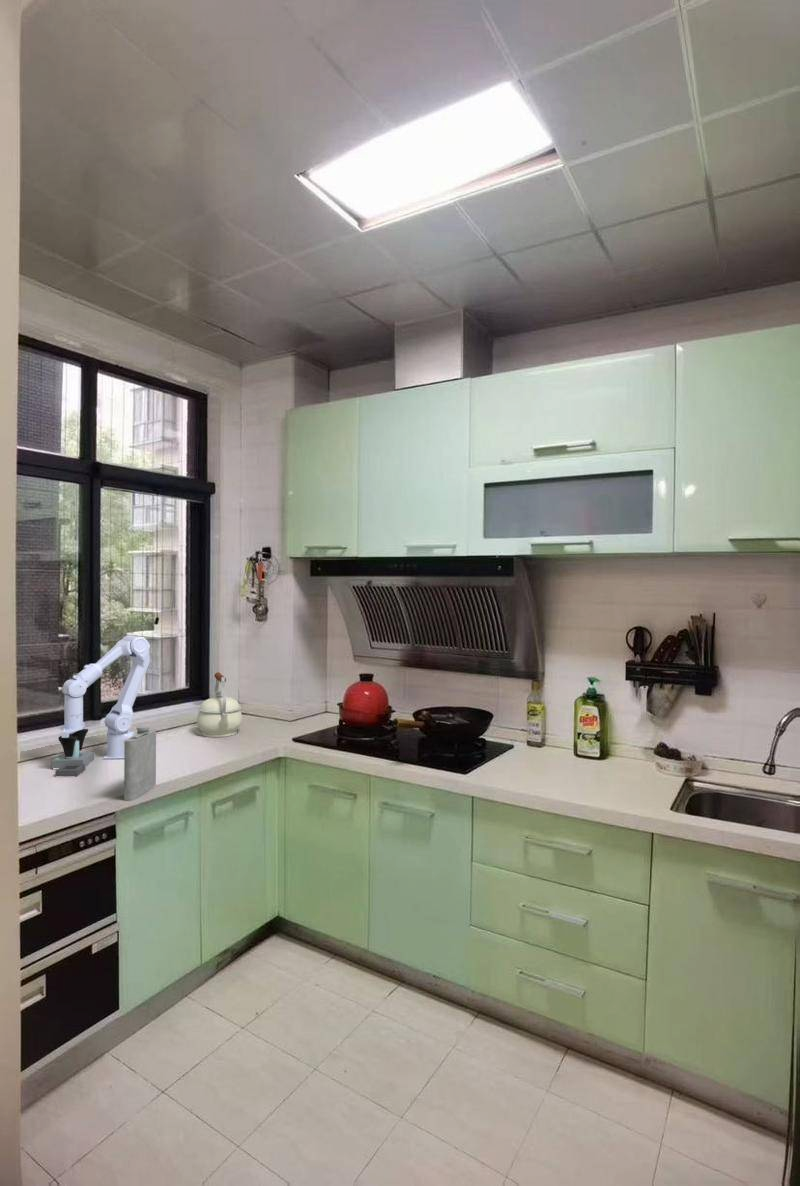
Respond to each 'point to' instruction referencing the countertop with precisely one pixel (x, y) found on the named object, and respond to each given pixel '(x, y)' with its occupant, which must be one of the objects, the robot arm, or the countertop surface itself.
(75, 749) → the plug
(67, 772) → the grey square base plate
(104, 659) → the robot arm
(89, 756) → the socket
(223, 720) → the kettle
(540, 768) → the countertop surface
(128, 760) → the hip flask
